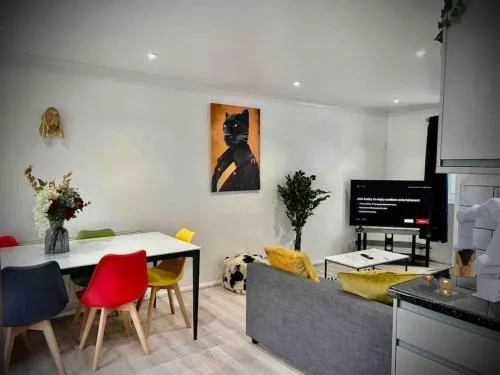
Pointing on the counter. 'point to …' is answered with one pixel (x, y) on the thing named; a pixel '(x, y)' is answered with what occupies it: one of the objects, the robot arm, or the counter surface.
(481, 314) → the counter surface
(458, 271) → the candy box
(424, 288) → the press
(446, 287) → the glass candle
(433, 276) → the tealight candle holder
